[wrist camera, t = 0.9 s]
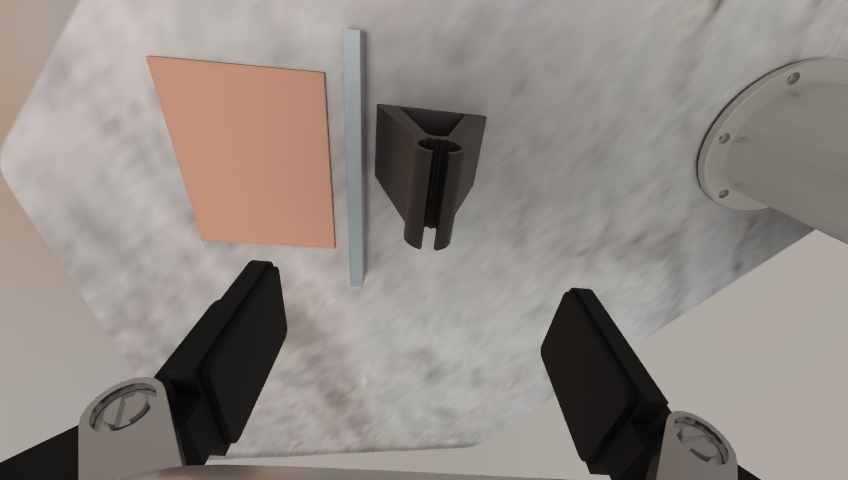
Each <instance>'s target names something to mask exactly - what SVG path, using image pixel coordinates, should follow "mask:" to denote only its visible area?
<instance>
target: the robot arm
mask: <svg viewBox="0 0 848 480" xmlns="http://www.w3.org/2000/svg"><path fill="white" fill-rule="evenodd" d="M698 178H699V181H700V185H701V187H702V189H703V190H704V192H705V193H706V195H707V196H708V197H710V198H711V199H712V200H713V201H715V202H717V203H719V204H721V205H723V206H724V207H727V208H731V209H734V210H743V211H751V210H761V209H765V208H769V207H770V208H773V209H775V210H777V211H779V212H781V213H783V214H785V215H787V216H789V217H791V218H794V219H796V220H798V221H800V222H802V223H804V224H806V225H808V226H810V227H812V228H815V229H817V230H819V231H821V232H823V233H825V234H827V235H829V236H831V237H833V238H836V239H838V240H840V241H842V242H844V243H846V244H848V61H845V60H841V59H825V58H820V59H811V60H804V61H801V62H797V63H794V64H790V65H787V66H785V67H783V68H781V69H779V70H776V71H774V72H772V73H770V74H768V75H767V76H765V77H764V78H762V79H760V80H759V81H757V82H756V83H754V84H753V85H751V86H750V87H749V88H748V89H747V90H745V91H744V92H743V93H742V94H740V95H739V96H738V97H737V98H736V99H735V100H734V101H733V102H732V103H731V104H730V105H729V106H728V107H727V108H726V109H725V110H724V112H723V113H722V114H721V116H720V117H719V118H718V119H717V121H716V122H715V123H714V125H713V127H712V128H711V130H710V132H709V134H708V135H707V137H706V139H705V142H704V144H703V147H702V149H701V152H700V157H699V162H698ZM286 334H287V322H286V316H285V309H284V302H283V295H282V288H281V281H280V274H279V269H278V267H274V266H273V263H272V262H269V261H257V260H252V261H250V262H249V263H248V264H247V266H246V267H245V268H244V270H243V271H242V272H241V273H240V275H239V276H238V277H237V279H236V280H235V281H234V282H233V284H232V285H231V286H230V288H229V289H228V290H227V291H226V293H225V294H224V295H223V297H222V298H221V299H220V300H217V301H215V302H214V303H213V304H212V305H211V306H210V307H209V308H208V310H207V311H206V312H205V313H204V315H203V316H202V317H201V318H200V320H199V321H198V322H197V323H196V325H195V326H194V327H193V329H192V330H191V331H190V332H189V334H188V335H187V336H186V337H185V339H184V340H183V341H182V342H181V344H180V345H179V346H178V347H177V349H176V350H175V351H174V352H173V354H172V355H171V356H170V357H169V359H168V360H167V361H166V363H165V364H164V365H163V366H162V368H161V369H160V370H159V371H158V373H157V374H156V375H155V376H154V378H149V377H141V378H134V379H130V380H127V381H124V382H121V383H119V384H117V385H115V386H113V387H111V388H109V389H108V390H106V391H105V392H103V393H102V394H100V395H99V396H98V397H96V398H95V399H94V400H93V401H92V402H91V403H90V404H89V405H88V406H87V408H86V409H85V411H84V412H83V414H82V415H81V418H80V422H79V425H77V426H75V427H73V428H71V429H69V430H67V431H65V432H63V433H61V434H59V435H57V436H55V437H52V438H50V439H48V440H46V441H44V442H42V443H40V444H38V445H36V446H34V447H32V448H30V449H28V450H25V451H23V452H22V453H19V454H18V455H15V456H13V457H11V458H9V459H7V460H5V461H3V462H1V463H0V480H561V479H543V478H523V477H506V476H485V475H466V474H445V473H425V472H404V471H382V470H361V469H360V470H359V469H337V468H313V467H291V466H254V465H205V463H206V461H207V459H208V457H209V455H217V456H225V455H226V453H227V451H228V449H229V447H230V445H231V443H236V442H237V441H238V440H239V438H240V436H241V434H242V432H243V430H244V428H245V425H246V423H247V421H248V419H249V417H250V415H251V412H252V410H253V408H254V406H255V404H256V401H257V399H258V397H259V395H260V393H261V390H262V388H263V386H264V384H265V382H266V380H267V377H268V375H269V373H270V371H271V369H272V366H273V364H274V362H275V360H276V358H277V355H278V353H279V351H280V349H281V347H282V345H283V342H284V340H285V338H286ZM541 357H542V360H543V362H544V365H545V367H546V370H547V373H548V375H549V378H550V381H551V383H552V386H553V389H554V391H555V394H556V397H557V399H558V402H559V405H560V407H561V410H562V412H563V415H564V418H565V421H566V423H567V426H568V428H569V431H570V434H571V436H572V439H573V442H574V444H575V447H576V450H577V452H578V455H579V457H580V458H581V460H582V461H585V462H586V464H587V467H588V469H589V472H590V474H600V475H609V476H610V478H611V480H760V479H759V478H757V477H756V476H754V475H753V474H751V473H750V472H748V471H747V470H745V469H744V468H742V467H741V466H739V465H738V464H737V459H736V454H735V452H734V450H733V448H732V447H731V445H730V443H729V442H728V441H727V439H726V438H725V437H724V436H723V435H722V434H721V433H720V432H719V431H718V430H717V429H716V428H715V427H714V426H713V425H711V424H709V423H708V422H707V421H705V420H704V419H702V418H700V417H698V416H696V415H694V414H692V413H688V412H684V411H675V412H671V411H670V409H669V408H668V406H667V404H668V401H667V400H666V398H665V397H664V395H663V394H662V392H661V391H660V389H659V388H658V387H657V385H656V383H655V382H654V380H653V379H652V378H651V376H650V375H649V373H648V372H647V370H646V369H645V367H644V366H643V364H642V363H641V362H640V360H639V358H638V357H637V355H636V354H635V353H634V351H633V350H632V348H631V347H630V345H629V344H628V342H627V341H626V339H625V338H624V336H623V335H622V333H621V332H620V330H619V329H618V327H617V326H616V325H615V323H614V322H613V320H612V319H611V317H610V316H609V314H608V313H607V311H606V310H605V308H604V307H603V305H602V304H601V302H600V301H599V300H598V298H597V297H596V295H595V294H594V292H593V291H592V290H590V289H582V288H571V289H570V290H569V292H565V293H564V295H563V297H562V300H561V302H560V304H559V307H558V309H557V311H556V314H555V316H554V318H553V320H552V323H551V325H550V327H549V330H548V332H547V334H546V337H545V339H544V341H543V344H542V346H541Z"/></svg>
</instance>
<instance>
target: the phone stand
mask: <svg viewBox="0 0 848 480" xmlns="http://www.w3.org/2000/svg"><path fill="white" fill-rule="evenodd" d="M486 118H487V117H486V116H481V115H472V114H463V113H454V112H445V111H436V110H434V111H433V110H427V109H419V108H410V107H401V106H392V105H383V104H377V123H376V153H375V177H376V178H377V180H378V181H379V183H380V184H381V186H382V187H383V189H384V190H385V192H386V194H387V195H388V197H389V198H390V200H391V201H392V203H393V204H394V206H395V208H396V209H397V211H398V212H399V214H400V215H401V217H402V218H403V220H404V222H405V229H404V239H405V241H406V242H407V243H408V244H409V245H411V246H413V247H415V248H417V249H421V247H422V239H423V231H424V227H426V226H427V227H429V228H430V229H431V228H436V236H435V243H434V249H435V251H436V250H441V249H444V248H446V247H447V246H448V245H449V244H450V240H451V234H452V228H453V223H454V217H455V214H456V212H457V210H458V209H459V207H460V206H461V204H462V202H463V201H464V199H465V197H466V196H467V194H468V193H469V191H470V189H471V188H472V186H473V183H474V178H475V173H476V168H477V163H478V158H479V153H480V148H481V143H482V138H483V133H484V128H485V123H486Z"/></svg>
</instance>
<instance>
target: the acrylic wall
mask: <svg viewBox="0 0 848 480" xmlns="http://www.w3.org/2000/svg"><path fill="white" fill-rule="evenodd" d="M342 52H343V80H344V108H345V136H346V164H347V192H348V220H349V248H350V276H351V286H360V287H363V284H364V279H365V275H366V140H365V31H362V30H354V29H344V28H342Z"/></svg>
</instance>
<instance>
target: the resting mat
mask: <svg viewBox="0 0 848 480" xmlns="http://www.w3.org/2000/svg"><path fill="white" fill-rule="evenodd" d="M146 59H147V63H148V66H149V69H150V72H151V76H152V79H153V82H154V85H155V89H156V92H157V95H158V98H159V102H160V105H161V108H162V111H163V115H164V118H165V121H166V124H167V128H168V131H169V134H170V137H171V141H172V144H173V147H174V150H175V154H176V157H177V160H178V163H179V167H180V170H181V173H182V176H183V180H184V183H185V186H186V190H187V193H188V196H189V199H190V203H191V206H192V209H193V212H194V216H195V219H196V222H197V225H198V229H199V232H200V235H201V238H202V240H208V241H223V242H239V243H255V244H270V245H286V246H302V247H317V248H333V249H335V247H336V245H335V229H334V213H333V196H332V180H331V164H330V148H329V131H328V115H327V99H326V83H325V73H324V72H314V71H303V70H293V69H282V68H272V67H261V66H251V65H240V64H230V63H219V62H209V61H198V60H187V59H177V58H166V57H156V56H146Z"/></svg>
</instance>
